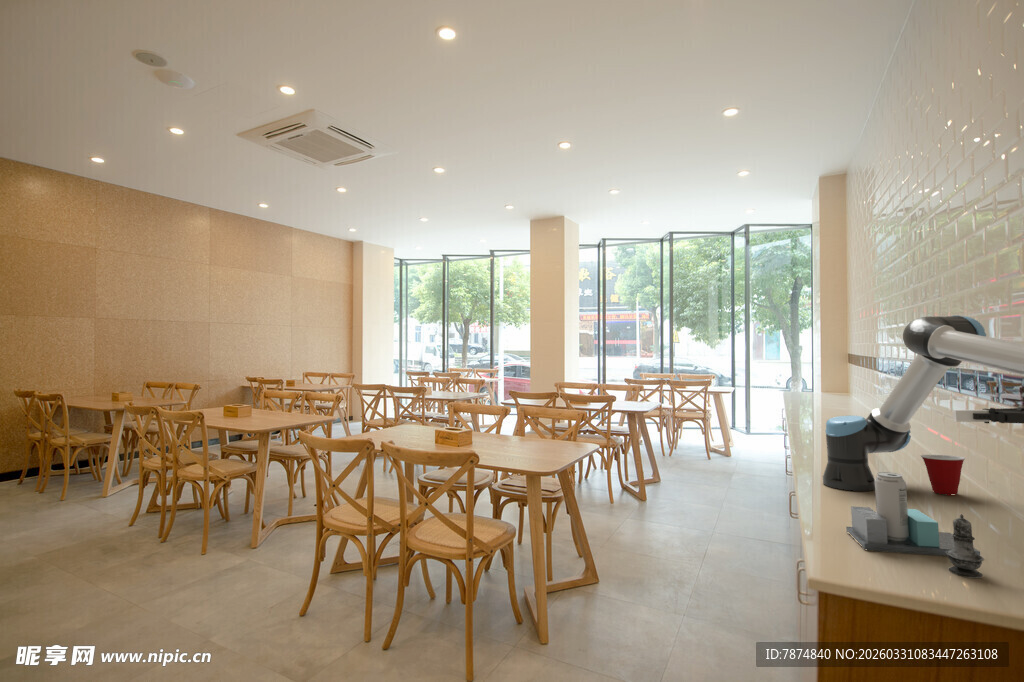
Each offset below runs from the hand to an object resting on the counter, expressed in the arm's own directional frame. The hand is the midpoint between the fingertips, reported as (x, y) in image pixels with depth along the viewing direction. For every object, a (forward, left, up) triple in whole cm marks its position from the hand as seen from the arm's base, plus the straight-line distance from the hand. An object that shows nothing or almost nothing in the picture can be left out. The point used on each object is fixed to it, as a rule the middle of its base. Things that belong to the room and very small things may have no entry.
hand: (954, 415), depth 121 cm
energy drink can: (+6, -16, -29) cm, 34 cm away
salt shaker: (+21, -9, -30) cm, 38 cm away
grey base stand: (+6, -13, -30) cm, 33 cm away
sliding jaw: (+6, -11, -28) cm, 31 cm away
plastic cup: (-45, +17, -30) cm, 57 cm away
